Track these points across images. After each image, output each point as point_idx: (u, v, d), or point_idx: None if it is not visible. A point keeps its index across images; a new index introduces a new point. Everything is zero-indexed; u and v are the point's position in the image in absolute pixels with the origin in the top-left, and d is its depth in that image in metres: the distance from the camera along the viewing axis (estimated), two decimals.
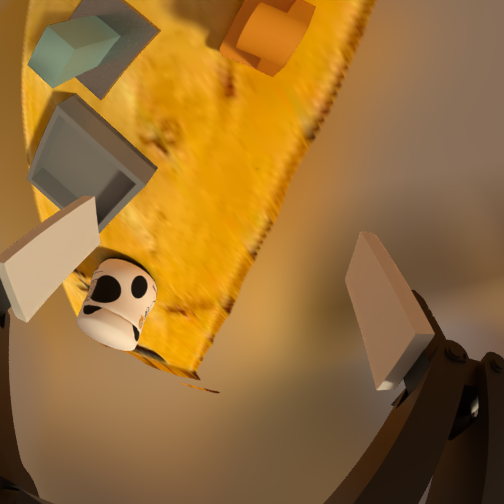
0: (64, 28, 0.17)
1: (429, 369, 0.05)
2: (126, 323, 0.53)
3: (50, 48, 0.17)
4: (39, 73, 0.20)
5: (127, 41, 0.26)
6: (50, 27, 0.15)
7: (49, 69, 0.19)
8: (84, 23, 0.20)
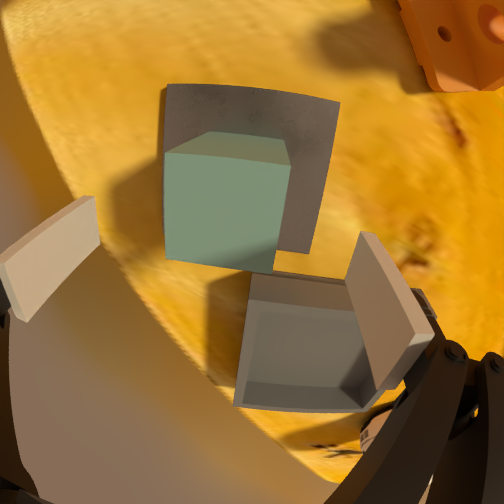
0: (205, 148, 0.14)
1: (429, 369, 0.05)
2: None
3: (212, 195, 0.13)
4: (213, 261, 0.15)
5: (302, 141, 0.21)
6: (176, 152, 0.13)
7: (239, 241, 0.14)
8: (218, 138, 0.18)
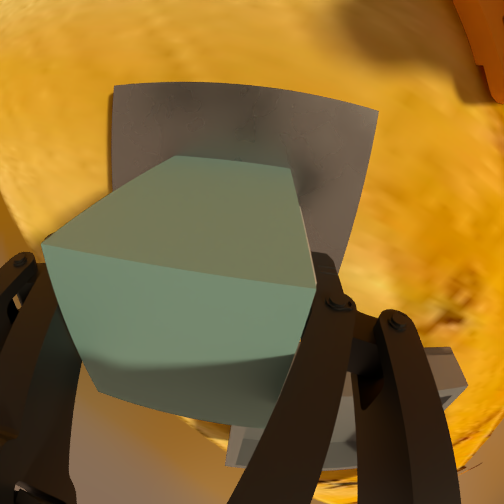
0: (130, 216, 0.07)
1: (308, 322, 0.07)
2: None
3: (141, 332, 0.06)
4: (168, 409, 0.08)
5: (320, 171, 0.14)
6: (61, 243, 0.05)
7: (206, 396, 0.07)
8: (177, 176, 0.10)
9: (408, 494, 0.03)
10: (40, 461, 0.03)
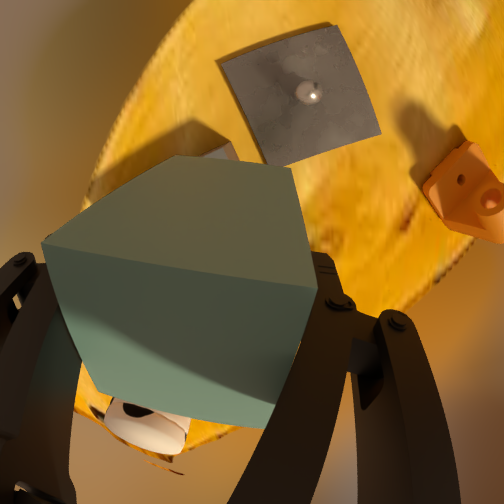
0: (130, 215, 0.07)
1: (308, 322, 0.07)
2: (181, 431, 0.39)
3: (141, 331, 0.06)
4: (169, 409, 0.08)
5: (345, 123, 0.28)
6: (61, 242, 0.05)
7: (206, 396, 0.07)
8: (178, 175, 0.10)
9: (409, 494, 0.03)
10: (40, 461, 0.03)
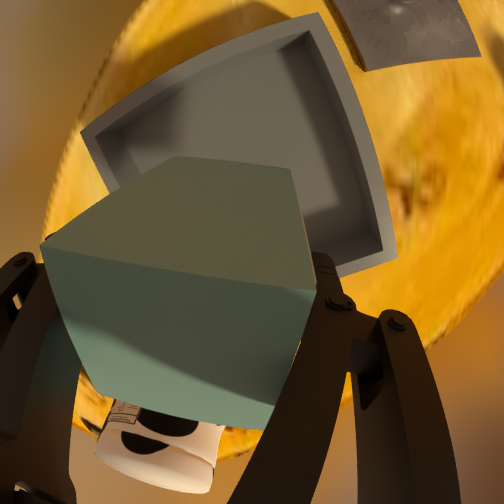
0: (129, 217, 0.07)
1: (308, 322, 0.07)
2: (208, 468, 0.25)
3: (140, 334, 0.06)
4: (168, 411, 0.08)
5: (447, 34, 0.14)
6: (59, 245, 0.05)
7: (205, 398, 0.07)
8: (177, 176, 0.10)
9: (409, 494, 0.03)
10: (40, 461, 0.03)
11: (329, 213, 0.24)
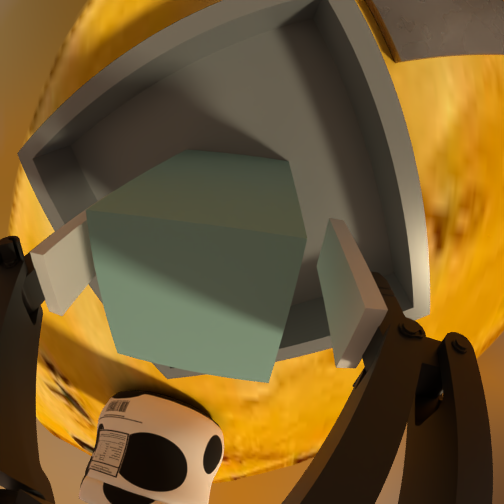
0: (158, 192, 0.08)
1: (382, 347, 0.06)
2: None
3: (167, 282, 0.08)
4: (183, 365, 0.09)
5: (490, 24, 0.08)
6: (104, 209, 0.07)
7: (217, 346, 0.09)
8: (192, 165, 0.12)
9: None
10: (10, 450, 0.03)
11: None
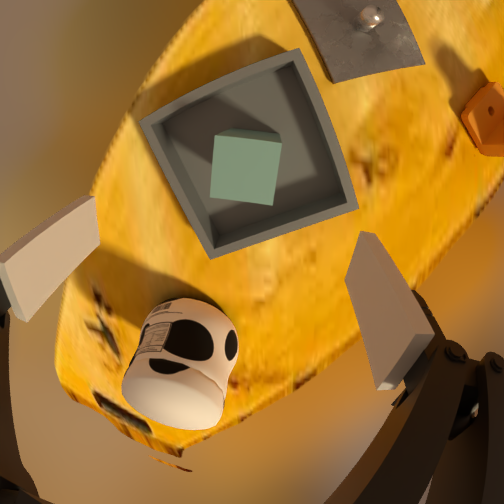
0: (234, 135, 0.25)
1: (429, 369, 0.05)
2: (220, 394, 0.35)
3: (240, 158, 0.24)
4: (239, 198, 0.26)
5: (396, 50, 0.24)
6: (221, 135, 0.23)
7: (254, 185, 0.25)
8: (239, 131, 0.28)
9: None
10: None
11: (310, 180, 0.35)
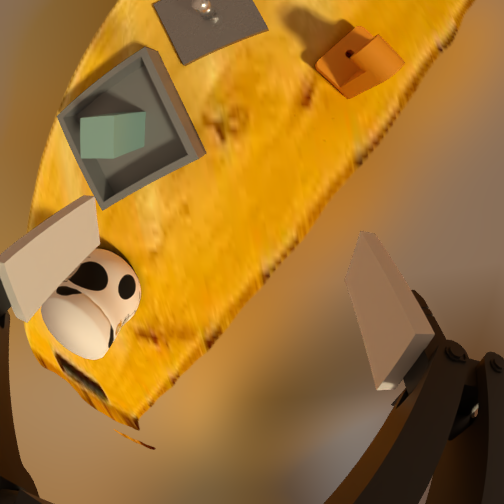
0: None
1: (429, 369, 0.05)
2: (105, 320, 0.42)
3: (93, 130, 0.31)
4: (95, 156, 0.32)
5: (237, 25, 0.31)
6: (84, 117, 0.30)
7: (102, 146, 0.32)
8: None
9: None
10: None
11: (170, 143, 0.41)
